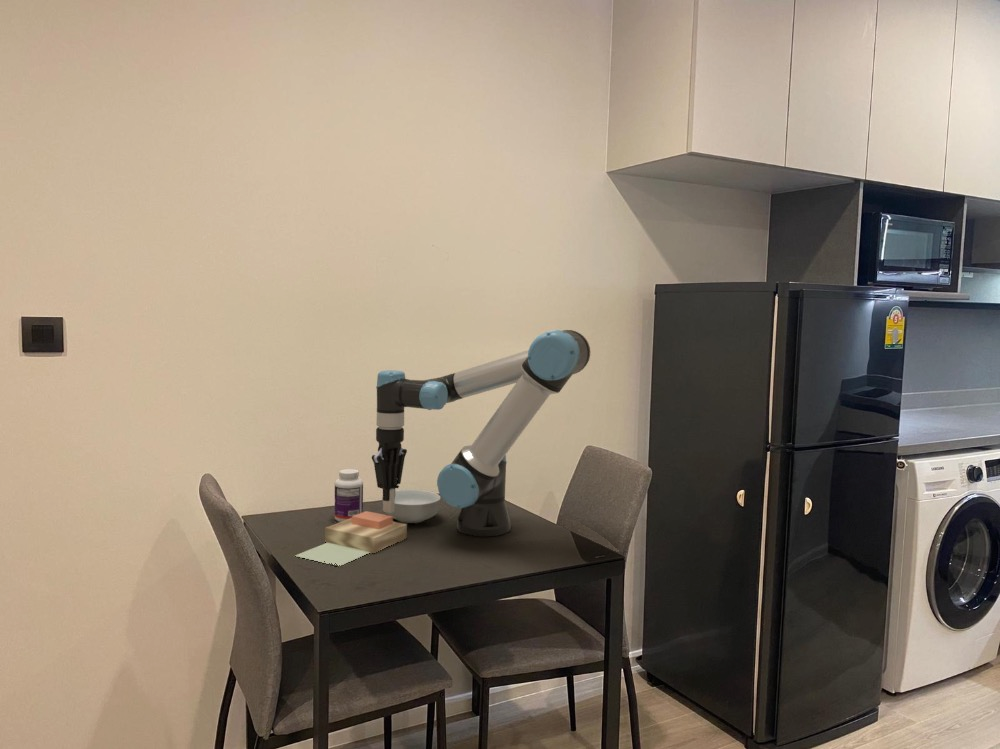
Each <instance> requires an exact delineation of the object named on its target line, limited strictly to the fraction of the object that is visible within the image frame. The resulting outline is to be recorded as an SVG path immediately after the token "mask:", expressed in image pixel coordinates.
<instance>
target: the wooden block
mask: <svg viewBox="0 0 1000 749" xmlns="http://www.w3.org/2000/svg"><path fill="white" fill-rule="evenodd" d="M407 529H408V523H402V522H399V521H393V524H391V525H388V526H386V527H383V528H381V529H375V528H370V527H365V526H360V525H355V524H352V518H350V519H347V520H345V521H342V522H337V523H335V524H332V525H329V526H326V527H325V528H324V543H325V542H326V543H327V542H329V543H333V544H338V545H342V546H346V547H351V548H355V549H360V550H364V551H368V552H371V553H370V554H372V553H375V554H377V553H379V552H381V551H383V550H382V549H384V548H386V547H388V546H390V547H392V546H394V545H396V544H395V543H397V542H399V543H401V542H403V541H405V540H407V539H406V538H407V535H408V532H407V531H408V530H407ZM404 539H405V540H404ZM402 540H403V541H402ZM400 541H401V542H400ZM393 544H394V545H393ZM397 544H398V543H397ZM391 545H392V546H391ZM388 548H389V547H388ZM386 549H387V548H386ZM380 550H381V551H380ZM384 550H385V549H384ZM378 551H379V552H378ZM376 552H377V553H376Z"/></svg>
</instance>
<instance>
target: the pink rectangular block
mask: <svg viewBox="0 0 1000 749" xmlns="http://www.w3.org/2000/svg"><path fill="white" fill-rule="evenodd" d="M393 522H394V518H393V516H389V515H387V514H384V513H378V512H373V511H367V510H365V511H363V512H362V513H360V514H357V515H354V516H352V524H355V525H360V526H365V527H370V528H375V529H381V528H383V527H386V526H388V525H391V524H393Z"/></svg>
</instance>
